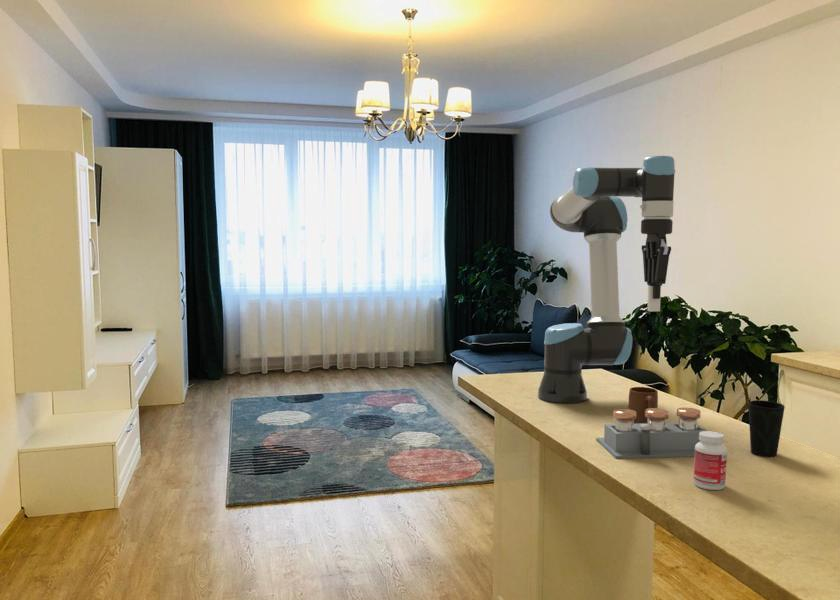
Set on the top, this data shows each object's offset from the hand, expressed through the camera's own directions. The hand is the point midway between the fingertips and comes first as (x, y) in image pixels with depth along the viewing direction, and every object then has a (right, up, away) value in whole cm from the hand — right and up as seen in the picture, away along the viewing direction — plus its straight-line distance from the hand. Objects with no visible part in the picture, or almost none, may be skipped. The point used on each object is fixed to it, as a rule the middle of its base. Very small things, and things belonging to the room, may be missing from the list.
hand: (653, 311), depth 176 cm
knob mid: (-2, -33, -8) cm, 34 cm away
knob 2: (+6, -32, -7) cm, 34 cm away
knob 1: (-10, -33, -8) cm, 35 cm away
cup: (+22, -34, -12) cm, 42 cm away
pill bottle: (+1, -36, -32) cm, 49 cm away
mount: (-2, -33, -8) cm, 34 cm away
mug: (+1, -32, +11) cm, 34 cm away
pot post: (-7, -33, -14) cm, 37 cm away
